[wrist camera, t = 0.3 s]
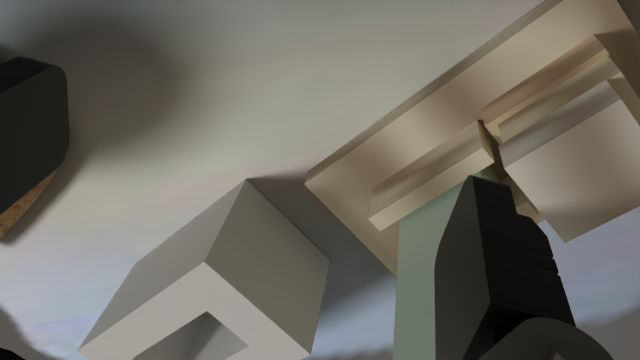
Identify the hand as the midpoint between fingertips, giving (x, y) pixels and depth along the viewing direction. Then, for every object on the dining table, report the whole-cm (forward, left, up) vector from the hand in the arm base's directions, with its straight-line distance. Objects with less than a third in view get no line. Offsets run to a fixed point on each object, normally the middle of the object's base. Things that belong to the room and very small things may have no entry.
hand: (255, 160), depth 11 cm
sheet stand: (+21, -5, -19) cm, 29 cm away
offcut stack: (+5, +12, -18) cm, 22 cm away
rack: (+9, +9, -19) cm, 23 cm away
